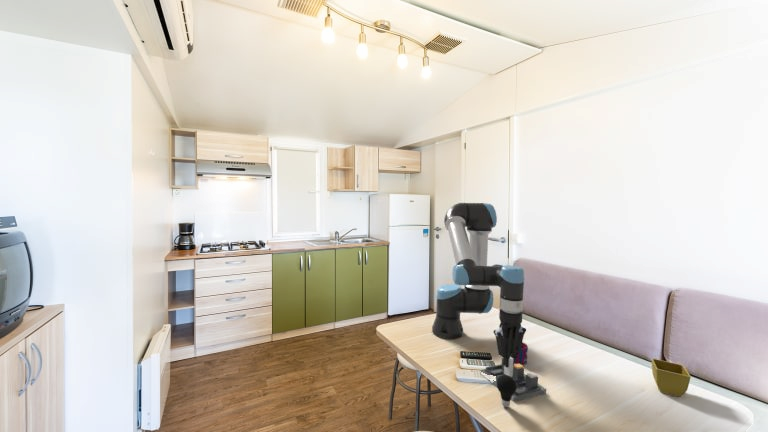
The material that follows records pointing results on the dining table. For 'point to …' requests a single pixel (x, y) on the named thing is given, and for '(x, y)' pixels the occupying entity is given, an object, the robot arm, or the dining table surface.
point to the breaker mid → (518, 371)
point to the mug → (522, 355)
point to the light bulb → (506, 388)
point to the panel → (521, 389)
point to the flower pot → (670, 377)
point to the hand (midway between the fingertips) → (508, 374)
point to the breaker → (531, 380)
